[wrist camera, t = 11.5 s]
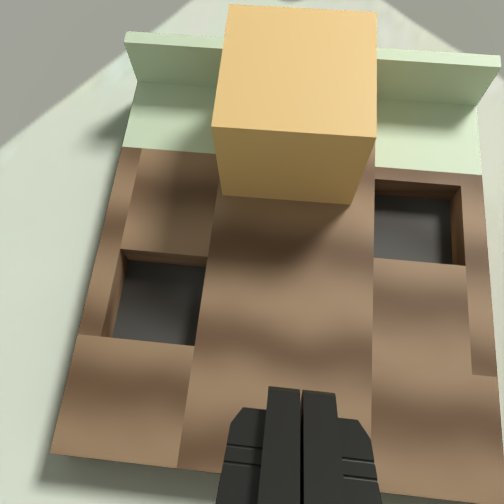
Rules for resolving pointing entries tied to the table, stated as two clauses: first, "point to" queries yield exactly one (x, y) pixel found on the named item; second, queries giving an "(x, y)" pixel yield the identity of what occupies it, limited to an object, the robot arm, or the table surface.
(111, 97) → the table surface
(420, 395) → the board
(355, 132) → the ochre block
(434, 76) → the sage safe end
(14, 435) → the table surface
